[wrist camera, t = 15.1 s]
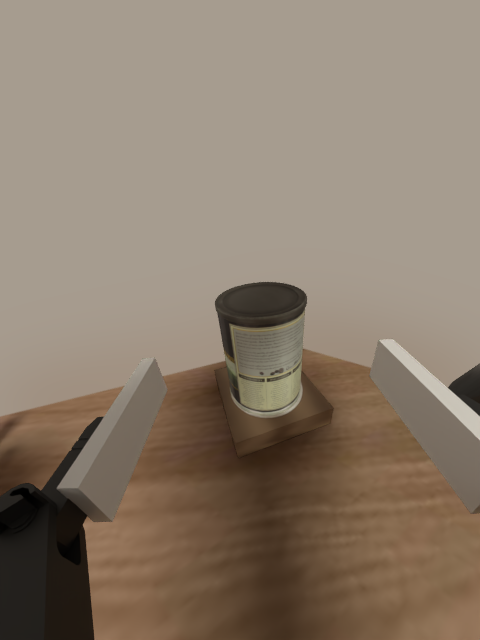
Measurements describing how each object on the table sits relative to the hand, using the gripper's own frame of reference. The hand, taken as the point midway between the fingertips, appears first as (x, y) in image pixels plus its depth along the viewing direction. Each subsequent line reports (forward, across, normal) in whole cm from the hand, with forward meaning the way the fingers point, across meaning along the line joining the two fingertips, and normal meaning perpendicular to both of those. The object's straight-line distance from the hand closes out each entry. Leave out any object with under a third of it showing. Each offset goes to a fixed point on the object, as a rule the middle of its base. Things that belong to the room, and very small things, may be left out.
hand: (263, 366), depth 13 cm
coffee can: (+12, 0, -15) cm, 19 cm away
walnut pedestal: (+12, 0, -18) cm, 22 cm away
